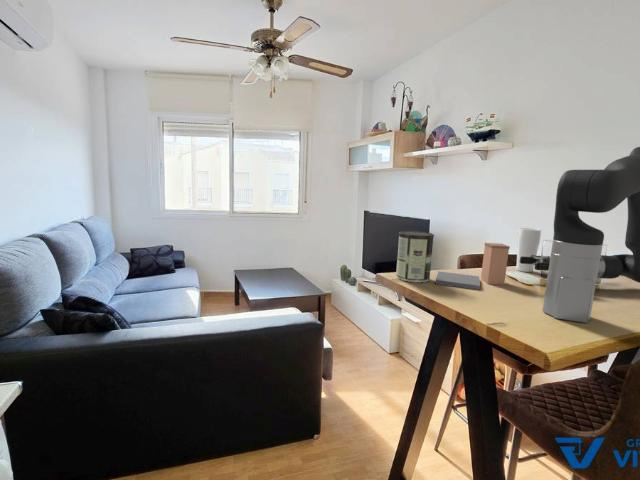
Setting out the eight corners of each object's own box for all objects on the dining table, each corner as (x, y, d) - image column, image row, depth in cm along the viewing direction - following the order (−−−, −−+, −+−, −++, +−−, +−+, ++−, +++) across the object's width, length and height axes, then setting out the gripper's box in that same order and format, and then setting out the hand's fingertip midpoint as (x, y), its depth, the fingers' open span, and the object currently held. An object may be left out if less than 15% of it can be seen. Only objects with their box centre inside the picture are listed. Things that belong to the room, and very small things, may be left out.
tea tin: (504, 284, 109) (509, 246, 107) (487, 283, 109) (492, 245, 107) (496, 280, 114) (501, 243, 112) (480, 279, 114) (484, 242, 112)
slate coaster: (479, 289, 102) (480, 285, 102) (435, 283, 106) (435, 279, 106) (478, 280, 113) (478, 276, 113) (438, 274, 117) (438, 271, 117)
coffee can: (415, 273, 118) (419, 230, 116) (436, 281, 109) (441, 235, 106) (388, 274, 114) (392, 230, 112) (408, 283, 105) (412, 235, 103)
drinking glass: (529, 269, 132) (535, 228, 130) (538, 273, 126) (545, 230, 123) (510, 267, 133) (515, 227, 131) (518, 272, 126) (524, 229, 124)
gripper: (568, 249, 116) (517, 246, 117) (600, 258, 102) (542, 255, 103) (564, 272, 118) (514, 269, 118) (596, 284, 103) (539, 281, 104)
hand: (527, 262), depth 110 cm, fingers open, 8 cm apart
